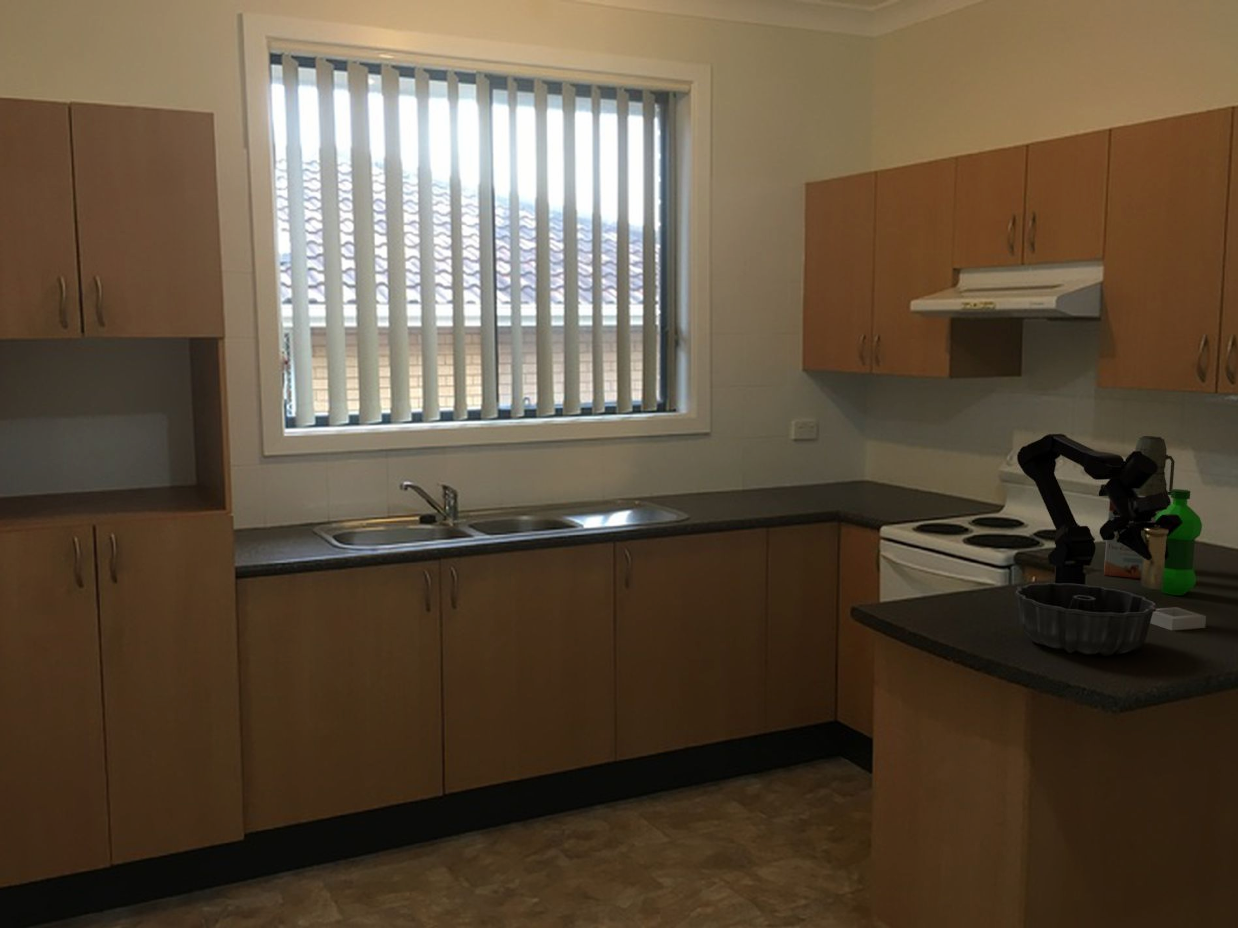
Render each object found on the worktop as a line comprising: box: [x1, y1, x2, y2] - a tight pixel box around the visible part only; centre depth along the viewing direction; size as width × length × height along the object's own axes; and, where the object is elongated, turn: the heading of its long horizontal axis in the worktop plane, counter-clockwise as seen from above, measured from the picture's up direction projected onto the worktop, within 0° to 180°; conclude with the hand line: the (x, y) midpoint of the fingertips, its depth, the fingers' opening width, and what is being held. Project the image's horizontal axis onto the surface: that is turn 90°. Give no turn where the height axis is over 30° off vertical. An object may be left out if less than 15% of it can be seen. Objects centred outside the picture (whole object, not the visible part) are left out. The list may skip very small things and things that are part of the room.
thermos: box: [1124, 435, 1176, 496], centre depth 315 cm, size 9×12×35 cm
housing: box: [1150, 606, 1207, 631], centre depth 256 cm, size 8×9×2 cm
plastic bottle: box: [1155, 488, 1203, 596], centre depth 286 cm, size 10×10×25 cm
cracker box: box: [1103, 496, 1168, 580], centre depth 304 cm, size 14×6×21 cm, turn 68°
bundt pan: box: [1014, 582, 1157, 657], centre depth 238 cm, size 26×26×10 cm
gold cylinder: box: [1140, 527, 1169, 590], centre depth 261 cm, size 5×5×13 cm
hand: (1158, 558), depth 260 cm, fingers closed on gold cylinder, 4 cm apart
